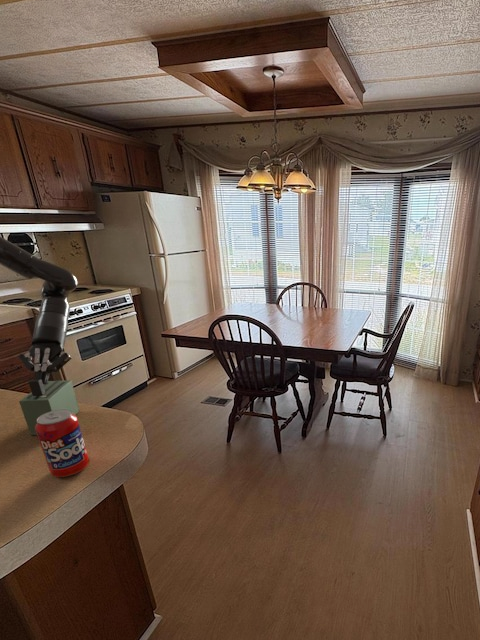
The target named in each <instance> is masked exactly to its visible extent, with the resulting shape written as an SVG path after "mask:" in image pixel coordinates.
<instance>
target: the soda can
mask: <svg viewBox="0 0 480 640" xmlns="http://www.w3.org/2000/svg"><path fill="white" fill-rule="evenodd" d="M35 430H36V433H37V435H36V436H37V438H38V441H39V444H40V448H41V450H42V454H43V456H44V459H45V462H46V465H47V468H48V470H49V473H50V475H52V476H53V477H57V478H64V477H70V476H73V475H76V474H78V473H79V472H82V471H83V470H84V469H86V467H87V466H88V465H89V463H90V458H89V455H88V451H87V450H88V449H87V447H86V443H85V440H84V436H83V434H82V429H81V426H80V422H79V419H78V416H77V415H74V414H72V412H71V411H70V410H66V409H61V410H54V411H51V412H48V413H45V414H43V415H41V416H40V417H38V419H37V424H36V426H35Z"/></svg>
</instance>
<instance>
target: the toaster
mask: <svg viewBox="0 0 480 640" xmlns="http://www.w3.org/2000/svg"><path fill="white" fill-rule="evenodd" d="M44 389H45V392H46V393H45V394H44V395H43V396H33V395H32V392H29V393H28V394H26V395H25V396H24V397H23V398H22V399H20V400H19V401H18V402H19V405H20V408H21V412H22V414H23V417H24V420H25V422H26V425H27V426H26V427H27V428H28V431H29V434H30V436H37V433H36V430H35V426H36V424H37V419H38V417H40V416H41V415H43V414H45V413H48V412H51V411H54V410H61V409H66V410H70V411H71V412H72V414H74V415H75V416H77V415H78V413H79V412H80V411H81V410H80V407H79V403H78V399H77V396H76V393H75V388H74V386H73V382H72V379H69V380H48V383H47V384H46V385H45V386H44Z"/></svg>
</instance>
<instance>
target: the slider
mask: <svg viewBox="0 0 480 640" xmlns="http://www.w3.org/2000/svg"><path fill="white" fill-rule="evenodd" d="M28 385H29V389H30V391H31V392H32V395H33V396H43V395H44V394H45V393H46V392H45V389H44V386H43V382H42V379H34V378H32V379H30V380H28ZM31 392H30V393H31Z"/></svg>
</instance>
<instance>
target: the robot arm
mask: <svg viewBox="0 0 480 640" xmlns="http://www.w3.org/2000/svg"><path fill="white" fill-rule="evenodd" d="M0 265H1V266H2V267H4V268H6V269H8V270H10V271H11V272H13V273H15V274H16V275H19V276H21V277H23V278H25V279H27V280H31V279H34V278H37V279H39V280H42V281H43V282H42V285H41V286H42V287H41V291H40V292H41V304H40V307H39V311H38V316H37V318H36V321H35V324H34V329H33V333H32V338H31V346H30V347H29V349H28V351H27V352H26V353H24V354H23V353H19V354H18V355H17V357H18V359H19V360H20V361H21V362H22V363H23V365H24V366H25V367H26V368H27V370H28V371H30V372H32V373H34V376H33V379H42V382H43V386H45V385H46V384H47V383H48V381H49V378H50V375H51V373H57V372H59V371H60V370H61V369H62V368H63V367H65V365H66V364H67V363H69V362H70V361H71V360H72V359H73V357H72V356H71V355H70V354H69V353H67V352H65V345H66V340H67V339H66V338H67V334H68V331H69V329H68V328H69V317H70V310H71V305H70V303H69V302H68V298H69V295H70V294H71V293H72V292H73V291H75V290H76V289H77V287H78V285H79V281H78V279H77V277H76V275H74V274H73V273H72V272H71V271H70V270H68V269H67V268H64V267H62V266H60V265H57V264H55V263H52V262H50V261H46V260H44V259H41V258H38V257H37V256H35V255H33V254H32V253H30V252H28V251H27V250H25V249H23V248H21V247H20V246H18V245H16V244H15V243H13V242H11V241H10V240H8V239H5V238H4V237H2V236H0ZM32 361H34V362H32Z"/></svg>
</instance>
